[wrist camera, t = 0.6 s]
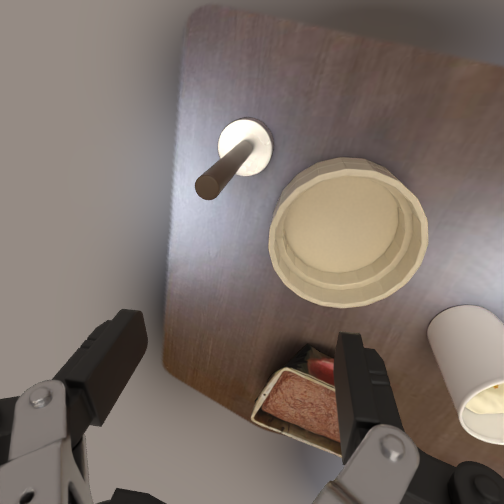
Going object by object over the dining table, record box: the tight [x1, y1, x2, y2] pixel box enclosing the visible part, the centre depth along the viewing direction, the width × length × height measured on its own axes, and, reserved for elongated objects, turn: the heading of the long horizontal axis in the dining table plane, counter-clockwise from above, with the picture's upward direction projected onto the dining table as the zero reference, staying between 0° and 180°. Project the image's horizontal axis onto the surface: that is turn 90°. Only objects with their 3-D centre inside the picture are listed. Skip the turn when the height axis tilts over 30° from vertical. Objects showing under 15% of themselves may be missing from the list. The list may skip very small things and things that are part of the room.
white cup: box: [427, 305, 504, 445], centre depth 35 cm, size 10×10×12 cm
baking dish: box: [251, 343, 342, 458], centre depth 45 cm, size 14×18×10 cm
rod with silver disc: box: [195, 117, 274, 200], centre depth 26 cm, size 6×6×16 cm
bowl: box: [268, 157, 428, 308], centre depth 34 cm, size 15×15×6 cm
